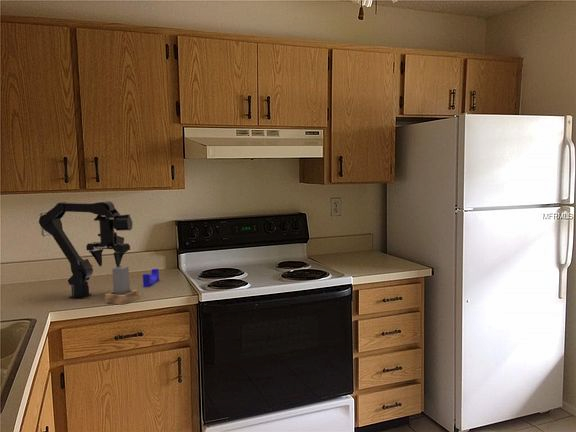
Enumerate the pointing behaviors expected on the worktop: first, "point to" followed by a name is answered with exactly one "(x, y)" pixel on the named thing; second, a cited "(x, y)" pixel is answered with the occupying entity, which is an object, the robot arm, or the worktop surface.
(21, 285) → the worktop surface
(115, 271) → the plain gray rectangular block
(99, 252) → the robot arm
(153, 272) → the cable clip
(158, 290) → the worktop surface
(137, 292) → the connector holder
